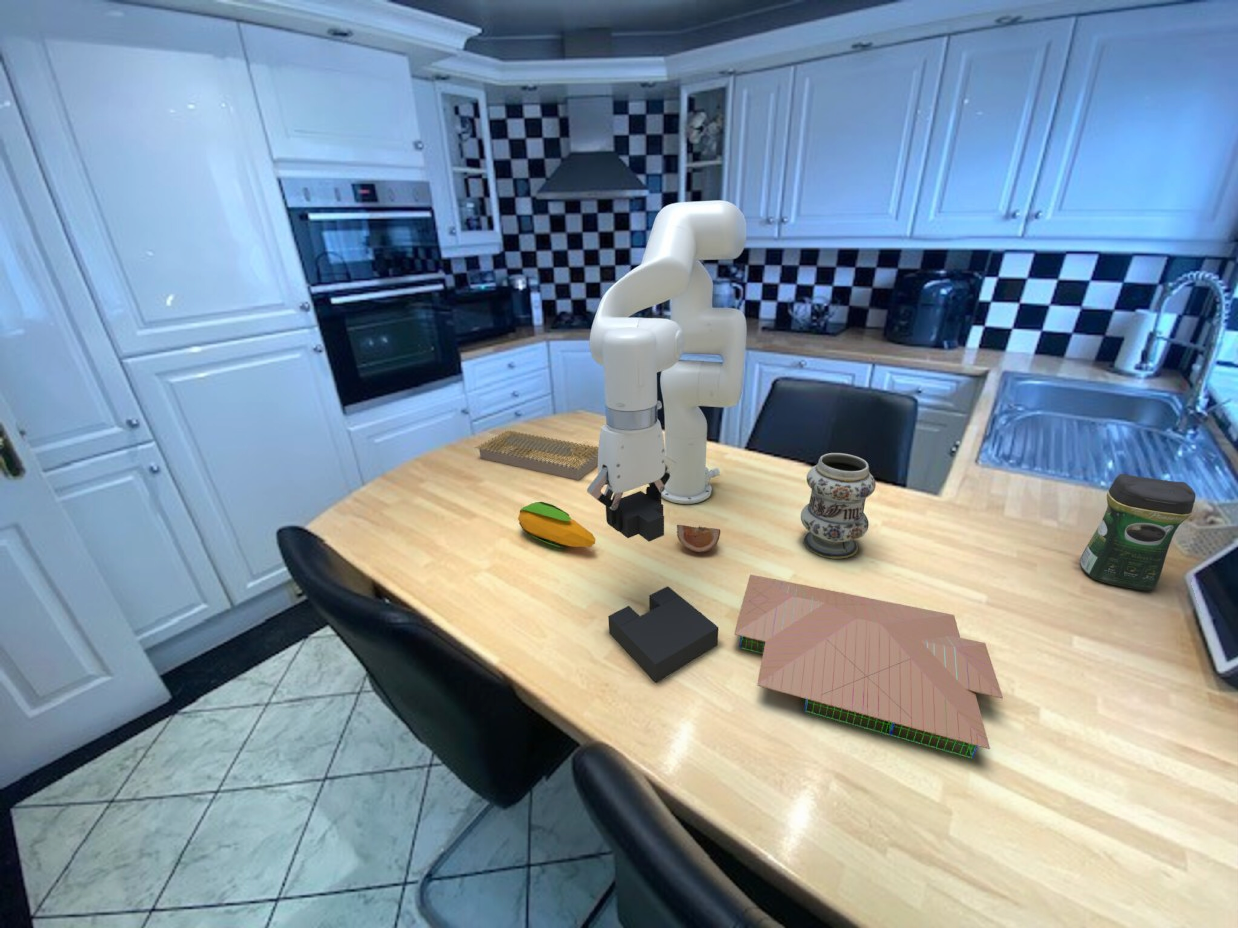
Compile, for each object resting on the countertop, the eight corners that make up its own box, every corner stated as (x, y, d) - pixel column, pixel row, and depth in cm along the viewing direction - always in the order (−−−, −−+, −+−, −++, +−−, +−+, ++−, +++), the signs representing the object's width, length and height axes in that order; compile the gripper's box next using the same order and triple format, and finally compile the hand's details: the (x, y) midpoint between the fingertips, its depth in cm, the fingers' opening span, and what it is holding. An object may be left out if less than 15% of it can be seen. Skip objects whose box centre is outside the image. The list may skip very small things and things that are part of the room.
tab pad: (641, 508, 86) (640, 490, 84) (674, 530, 79) (674, 511, 78) (606, 522, 82) (605, 503, 81) (638, 546, 76) (637, 526, 74)
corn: (531, 489, 109) (605, 514, 98) (537, 518, 113) (609, 545, 102) (506, 506, 104) (582, 534, 93) (513, 536, 107) (586, 566, 97)
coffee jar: (1143, 570, 89) (1190, 475, 81) (1159, 597, 82) (1212, 497, 74) (1073, 556, 93) (1110, 465, 85) (1083, 580, 87) (1125, 485, 79)
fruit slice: (673, 553, 99) (673, 532, 97) (680, 535, 105) (680, 514, 102) (716, 560, 96) (717, 538, 94) (721, 540, 102) (722, 519, 100)
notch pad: (667, 602, 86) (667, 585, 85) (717, 644, 77) (718, 627, 76) (609, 632, 80) (607, 615, 79) (655, 682, 71) (655, 664, 70)
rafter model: (476, 458, 144) (472, 439, 141) (509, 440, 155) (506, 422, 152) (579, 482, 128) (577, 460, 125) (608, 460, 139) (606, 439, 137)
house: (1011, 775, 58) (1033, 726, 54) (721, 692, 69) (724, 648, 66) (970, 635, 77) (984, 593, 73) (748, 589, 88) (752, 550, 85)
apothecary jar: (864, 534, 102) (880, 453, 94) (862, 568, 92) (880, 481, 84) (801, 523, 107) (811, 444, 99) (793, 554, 97) (804, 470, 89)
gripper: (662, 397, 81) (662, 494, 89) (567, 422, 72) (576, 527, 80) (693, 408, 75) (691, 511, 83) (594, 437, 67) (601, 549, 74)
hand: (634, 518), depth 81 cm, fingers closed on tab pad, 7 cm apart
